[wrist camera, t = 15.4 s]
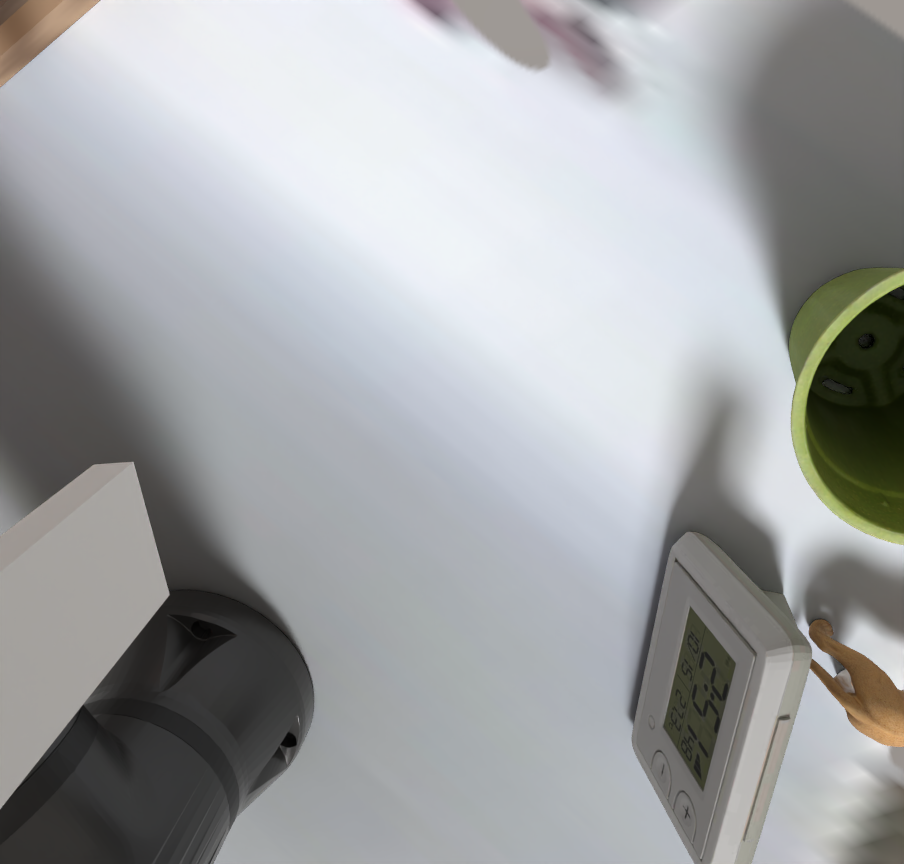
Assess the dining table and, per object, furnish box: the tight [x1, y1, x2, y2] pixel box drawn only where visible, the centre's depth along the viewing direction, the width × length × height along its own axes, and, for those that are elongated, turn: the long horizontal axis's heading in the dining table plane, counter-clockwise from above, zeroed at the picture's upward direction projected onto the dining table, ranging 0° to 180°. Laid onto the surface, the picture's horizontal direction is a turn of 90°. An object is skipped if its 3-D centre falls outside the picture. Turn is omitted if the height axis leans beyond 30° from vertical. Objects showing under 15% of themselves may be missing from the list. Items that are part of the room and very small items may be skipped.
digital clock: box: [632, 532, 812, 864], centre depth 44 cm, size 16×9×11 cm, turn 164°
